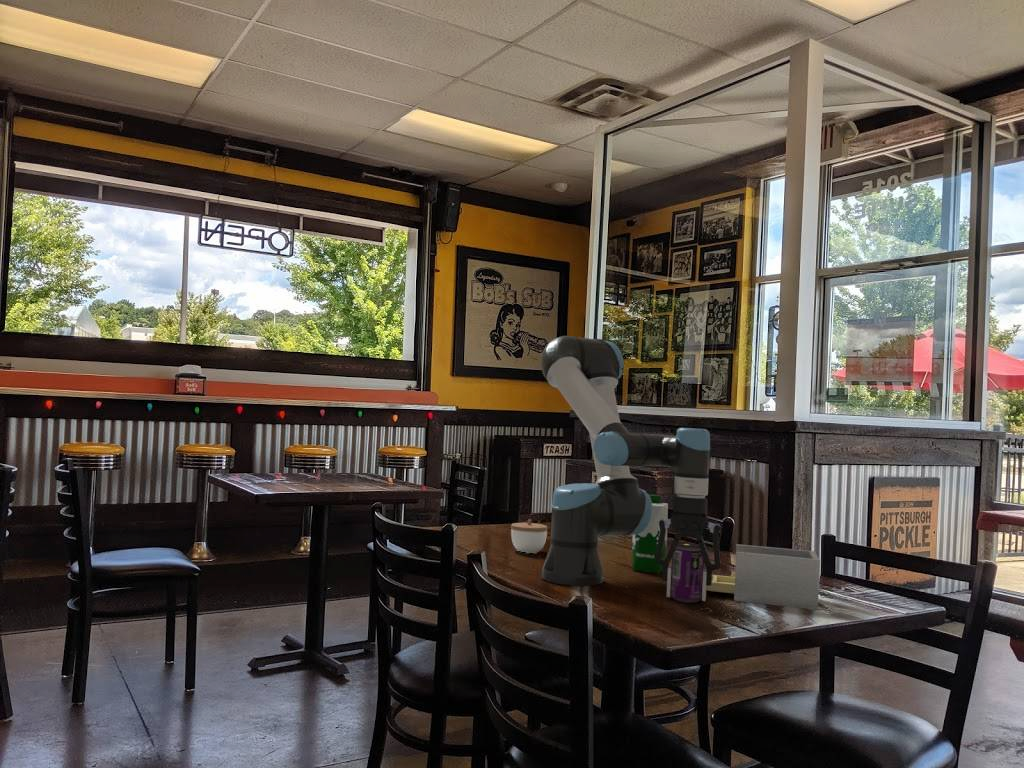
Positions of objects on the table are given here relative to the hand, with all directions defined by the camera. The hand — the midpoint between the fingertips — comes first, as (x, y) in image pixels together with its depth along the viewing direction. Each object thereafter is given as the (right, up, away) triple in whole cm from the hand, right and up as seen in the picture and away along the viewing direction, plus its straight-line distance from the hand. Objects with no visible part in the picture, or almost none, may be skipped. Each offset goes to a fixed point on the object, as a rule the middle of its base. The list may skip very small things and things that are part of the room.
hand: (686, 597), depth 183 cm
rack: (+10, -1, +10) cm, 14 cm away
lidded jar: (-35, -1, +54) cm, 64 cm away
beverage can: (0, -1, 0) cm, 1 cm away
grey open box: (+22, -2, +6) cm, 23 cm away
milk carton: (-3, -2, +35) cm, 35 cm away
